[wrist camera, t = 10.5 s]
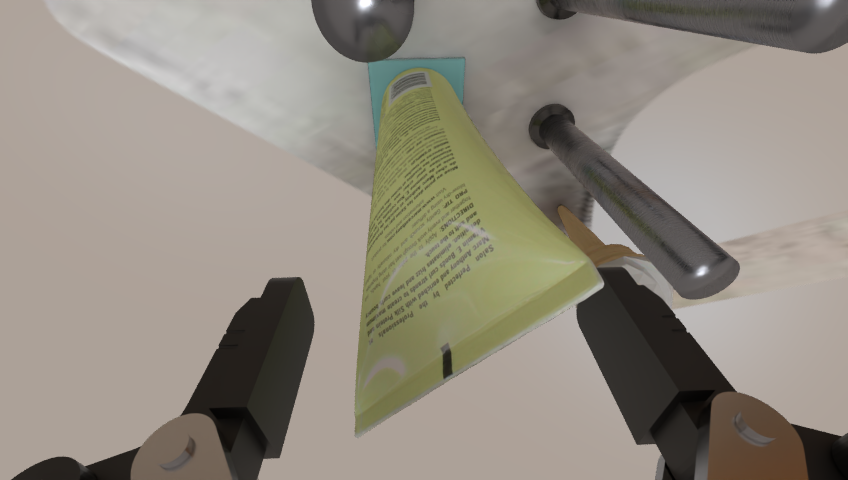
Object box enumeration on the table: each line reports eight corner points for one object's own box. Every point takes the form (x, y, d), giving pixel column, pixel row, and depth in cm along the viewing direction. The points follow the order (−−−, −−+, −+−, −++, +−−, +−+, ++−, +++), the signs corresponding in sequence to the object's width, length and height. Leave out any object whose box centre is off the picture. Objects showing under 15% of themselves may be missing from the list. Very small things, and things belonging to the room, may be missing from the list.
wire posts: (612, -47, 19) (1035, -102, 6) (565, 145, 26) (727, 306, 13) (358, -44, 19) (264, -99, 6) (377, 150, 25) (351, 324, 12)
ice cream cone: (534, 241, 31) (616, 405, 19) (519, 191, 28) (608, 349, 16) (597, 220, 30) (727, 379, 18) (590, 165, 27) (741, 314, 15)
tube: (453, 151, 25) (540, 435, 9) (383, 152, 25) (351, 445, 9) (459, 64, 22) (610, 283, 6) (377, 64, 21) (312, 292, 6)
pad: (463, 57, 22) (465, 59, 21) (458, 148, 25) (459, 151, 25) (368, 59, 22) (367, 61, 21) (377, 150, 25) (376, 153, 25)
